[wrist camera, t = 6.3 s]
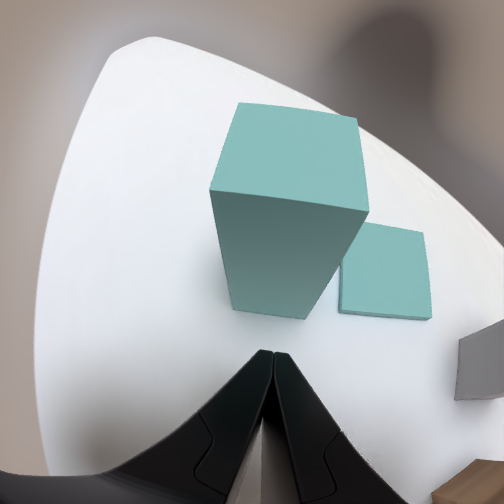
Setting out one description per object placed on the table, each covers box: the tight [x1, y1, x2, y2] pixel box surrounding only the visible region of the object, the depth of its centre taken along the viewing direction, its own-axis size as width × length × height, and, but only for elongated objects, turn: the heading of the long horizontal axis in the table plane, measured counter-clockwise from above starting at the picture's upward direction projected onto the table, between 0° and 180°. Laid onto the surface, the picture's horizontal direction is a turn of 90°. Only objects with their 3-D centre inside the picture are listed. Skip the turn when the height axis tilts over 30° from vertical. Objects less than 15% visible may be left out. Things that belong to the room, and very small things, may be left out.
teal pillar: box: [209, 103, 369, 319], centre depth 12 cm, size 4×4×10 cm
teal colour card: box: [339, 222, 432, 320], centre depth 17 cm, size 6×6×1 cm
